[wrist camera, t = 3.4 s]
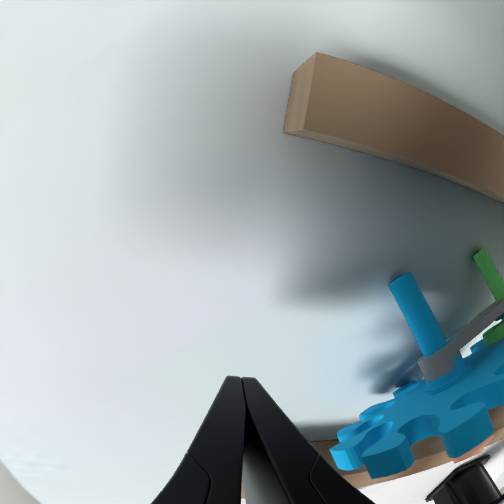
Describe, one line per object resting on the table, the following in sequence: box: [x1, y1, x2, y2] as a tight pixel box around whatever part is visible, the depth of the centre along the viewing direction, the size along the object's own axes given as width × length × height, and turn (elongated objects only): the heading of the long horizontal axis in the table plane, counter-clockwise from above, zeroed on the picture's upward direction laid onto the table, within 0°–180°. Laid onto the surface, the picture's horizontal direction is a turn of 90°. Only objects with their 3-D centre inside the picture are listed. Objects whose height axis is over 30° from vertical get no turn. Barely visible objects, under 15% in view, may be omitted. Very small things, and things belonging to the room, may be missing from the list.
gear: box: [330, 248, 504, 479], centre depth 10 cm, size 11×6×10 cm
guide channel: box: [241, 52, 504, 498], centre depth 12 cm, size 24×18×3 cm
